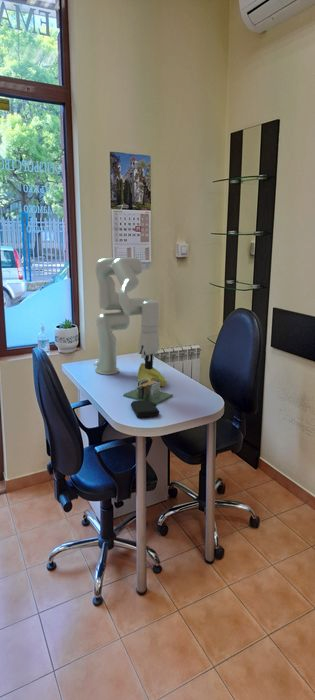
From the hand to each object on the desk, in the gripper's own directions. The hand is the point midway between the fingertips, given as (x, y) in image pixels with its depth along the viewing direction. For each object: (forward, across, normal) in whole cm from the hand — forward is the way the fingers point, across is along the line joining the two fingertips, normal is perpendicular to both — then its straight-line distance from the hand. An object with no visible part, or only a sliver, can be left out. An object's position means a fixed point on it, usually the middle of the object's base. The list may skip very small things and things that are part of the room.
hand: (148, 368), depth 201 cm
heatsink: (+13, 0, 0) cm, 13 cm away
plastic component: (+14, -18, -10) cm, 25 cm away
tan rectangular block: (+11, 0, 0) cm, 11 cm away
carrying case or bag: (+13, +16, +10) cm, 23 cm away
